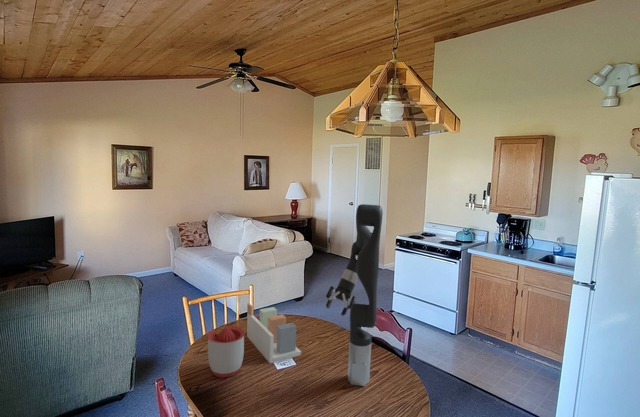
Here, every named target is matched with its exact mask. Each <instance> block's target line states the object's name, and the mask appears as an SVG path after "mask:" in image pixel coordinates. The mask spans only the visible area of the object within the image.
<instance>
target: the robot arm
mask: <svg viewBox="0 0 640 417" xmlns="http://www.w3.org/2000/svg"><path fill="white" fill-rule="evenodd" d="M355 223H356V224H355V226H356V228H355V229H356V239H355V241H354V242H353V243H352V245H351V252H350V256H349V257H350V258H349V261H348V264H347V266H346V268H345V270H344V272H343V273H342V276H341V277H340V280H339V283H338V284H337V287H336V288H335V287H334V286H333V285H330V288H329V289H328V291H327V293H326V295H325V297H326V298H327V302H326V304H325V306H326V307H325V308H327V309H330V307H331V305H332V302H333V301H334V300H336V299H337V300H340V301H341V302H343V303H344V307H343V309H342V310H341V311H342V312H341V313H340V315H341V316H342V317H343V316H346V314H347V311H348V310H349V309H350V311H349V345H348V360H347V362H348V364H347V365H348V366H347V367H348V368H347V381H348V382H349V383H350V385H351V386H358V387H359V386H361V387H366V386H367V384H369V382H370V376H371V375H370V374H371V373H370V372H371V371H370V370H371V358H372V356H371V355H372V340H373V339H372V335H371V333H370V332H368V331H366V330H365V329H363V328H367V329H373V328H375V327H376V324H377V300H378V299H377V298H378V297H377V294H378V293H377V291H378V290H377V289H378V278H379V268H380V267H379V266H380V265H379V263H380V243H381V242H380V241H381V232H382V231H381V230H382V223H383V207H382V206H381V205H379V204H378V205H377V204H365V203H363V204H359V205H358V206H357V208H356V212H355ZM369 227H373V230H372V231H371V230H370V229H369ZM358 280H359V281H360V283H361V284H362V287H363V288H364V290H365V292H366V295H367V299H368V304H366V303H365V304H364V303H355V302H356V300H357V296H354V295H352V293H353V291H354V288H355V287H356V285H357V282H358ZM333 292H335V293H334V294H333ZM349 300H350V303H349Z"/></svg>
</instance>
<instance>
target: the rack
mask: <svg viewBox="0 0 640 417" xmlns="http://www.w3.org/2000/svg"><path fill="white" fill-rule="evenodd" d="M253 306H254V305H252V304H251V303H249V302H247V312H246V313H247V316H246V320H247V321H246V324H247V325H246V328H247V329H246V330H247V332H246V337H247V338H248V339H249V341H250V342H251V343H252V344H253V345H254V346H255V347H256V348H257V350H258V351H259V352H260V354H261V355H262V356H263V357H264V358H265V359H266V361H267V362H268V363H269V364H274V363H276V362H281V361H284V360H288V359H292V358H297V357H300V356H302V350H300V349H299V347H297V346H296V350H294V351H290V352H286V353H282V354H280V353H279V352H278V351H277V343H274V335H273V334H272V333H271V332H270V331H269V330H268V329H267V328H266V327H265V326H264V325H263V324H262V323H261V322H260V321H259V319H258V318H257V317H256V316H255V315H254V312H253V311H254V307H253Z"/></svg>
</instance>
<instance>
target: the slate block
mask: <svg viewBox="0 0 640 417" xmlns="http://www.w3.org/2000/svg"><path fill="white" fill-rule="evenodd" d="M296 347H297V325H296V324H295V323H294V322H289V323H287V322H286V324H283V325H278V326H277V351H278V352H279V353H280V354H282V353H286V352H290V351H294V350H296Z"/></svg>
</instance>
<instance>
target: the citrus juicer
mask: <svg viewBox="0 0 640 417" xmlns="http://www.w3.org/2000/svg"><path fill="white" fill-rule="evenodd" d="M245 334H246V332H245V331H244V329H242V328H241V327H239V326H232V325H228V326H226V325H225V326H224V328H223V329H222V330H221V331H220V332H219V333H216V330H214V329H211V330H210V331H209V332H208V333H207V358H208V365H209V368H210V370H211V372H212V374H213V375H214V376H216V377H218V378H220V379H221V378H230V377H233V376H235V375H237V374H238V373H239V372H240V370H241V368H242V364H243V360H244V353H245Z"/></svg>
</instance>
